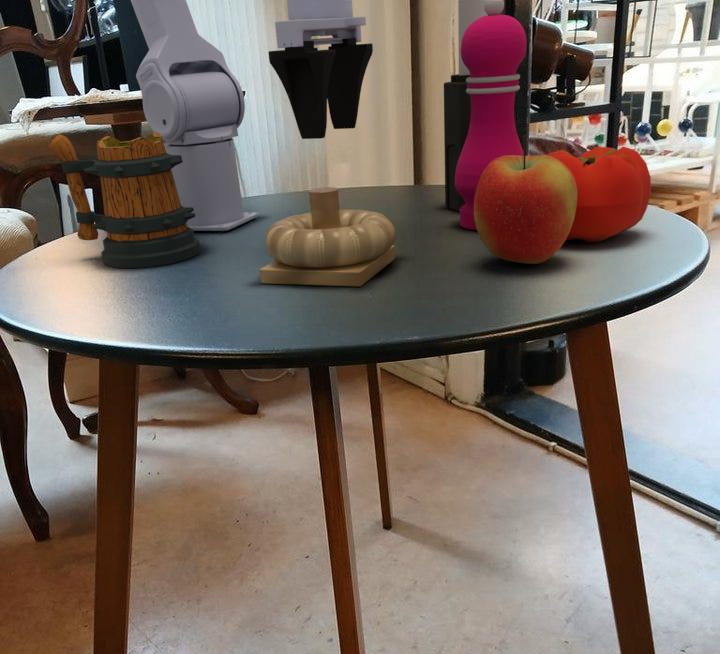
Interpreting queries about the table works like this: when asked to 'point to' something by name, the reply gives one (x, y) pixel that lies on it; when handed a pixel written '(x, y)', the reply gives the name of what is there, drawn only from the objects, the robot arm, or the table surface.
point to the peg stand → (328, 217)
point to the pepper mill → (489, 98)
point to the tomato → (607, 191)
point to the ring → (330, 240)
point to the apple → (525, 207)
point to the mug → (131, 201)
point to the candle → (458, 106)
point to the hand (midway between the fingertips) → (329, 133)
